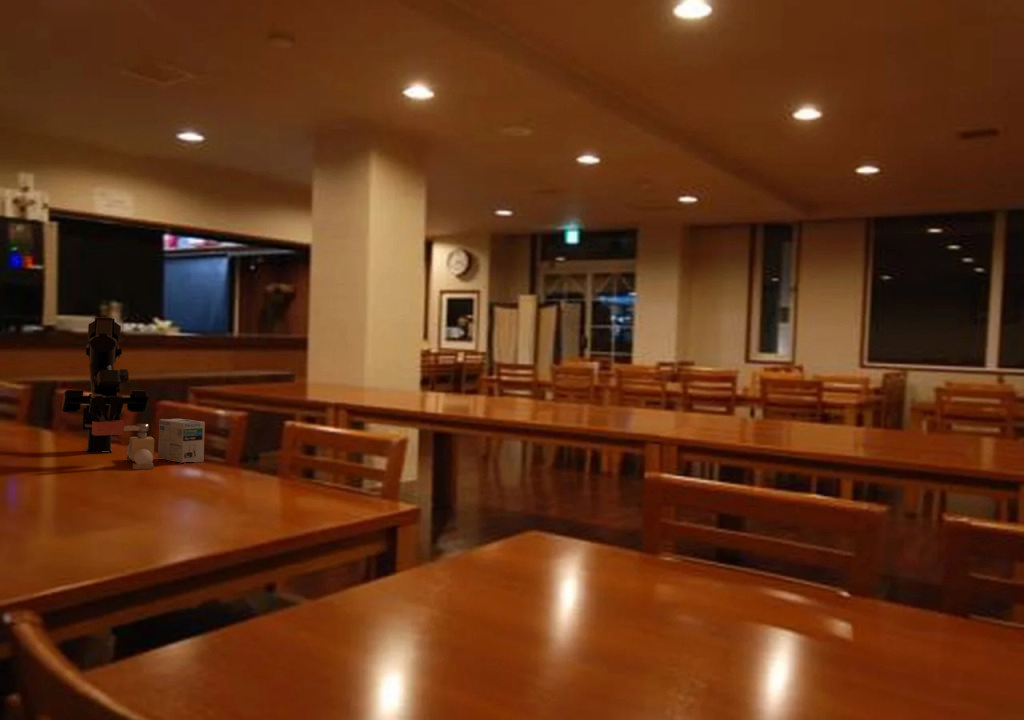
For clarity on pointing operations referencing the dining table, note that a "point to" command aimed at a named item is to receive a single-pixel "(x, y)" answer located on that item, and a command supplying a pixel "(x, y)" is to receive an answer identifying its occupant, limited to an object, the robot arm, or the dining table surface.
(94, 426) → the valve lever
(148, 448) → the valve
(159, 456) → the light bulb box
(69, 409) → the robot arm
